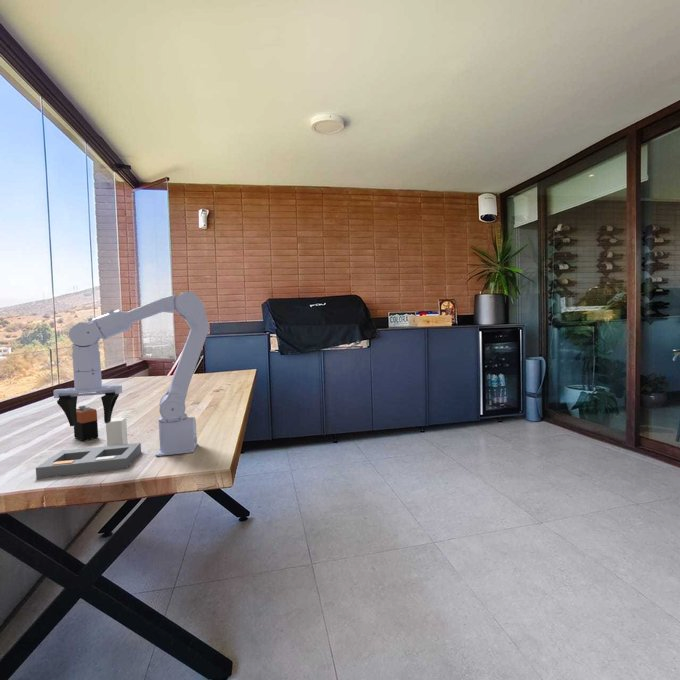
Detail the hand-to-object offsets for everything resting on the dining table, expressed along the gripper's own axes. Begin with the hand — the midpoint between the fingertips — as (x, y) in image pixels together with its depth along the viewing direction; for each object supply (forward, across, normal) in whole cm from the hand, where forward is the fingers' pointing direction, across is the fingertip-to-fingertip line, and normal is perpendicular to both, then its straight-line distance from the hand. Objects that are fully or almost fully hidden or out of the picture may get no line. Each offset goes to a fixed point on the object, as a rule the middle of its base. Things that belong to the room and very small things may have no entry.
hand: (90, 423), depth 92 cm
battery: (+11, -12, +26) cm, 30 cm away
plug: (+10, +2, +13) cm, 17 cm away
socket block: (+10, 0, 0) cm, 10 cm away
